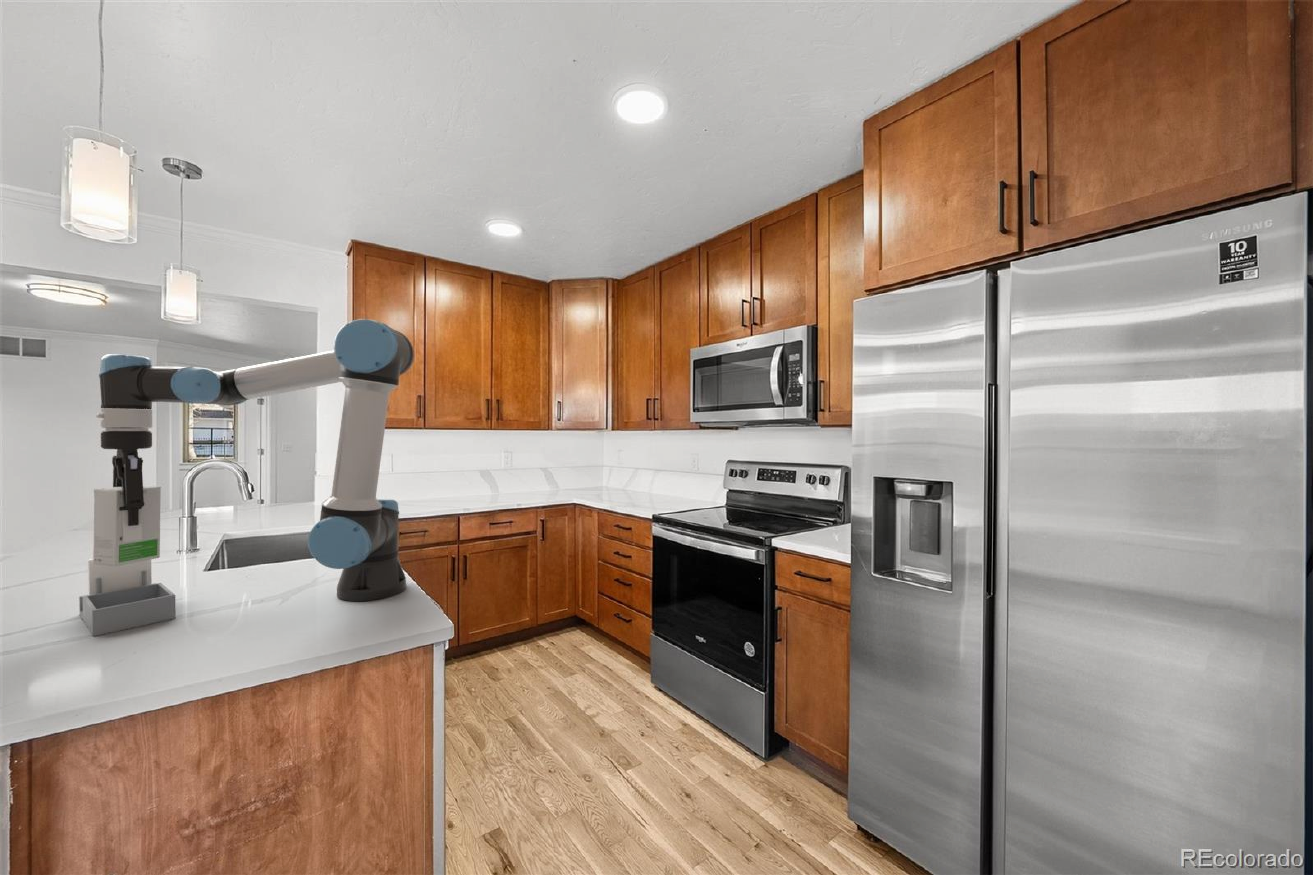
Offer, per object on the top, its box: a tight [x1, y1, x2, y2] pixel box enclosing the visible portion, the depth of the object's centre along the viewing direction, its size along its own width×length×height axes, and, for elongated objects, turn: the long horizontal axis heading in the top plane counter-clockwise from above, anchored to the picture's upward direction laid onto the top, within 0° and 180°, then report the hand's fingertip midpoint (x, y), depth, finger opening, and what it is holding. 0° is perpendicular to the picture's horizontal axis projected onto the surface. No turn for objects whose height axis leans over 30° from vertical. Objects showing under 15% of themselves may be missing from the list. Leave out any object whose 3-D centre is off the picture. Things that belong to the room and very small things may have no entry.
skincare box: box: [92, 485, 162, 566], centre depth 109 cm, size 8×7×16 cm
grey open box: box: [78, 558, 176, 637], centre depth 111 cm, size 18×12×12 cm, turn 53°
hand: (128, 537), depth 109 cm, fingers closed on skincare box, 8 cm apart
